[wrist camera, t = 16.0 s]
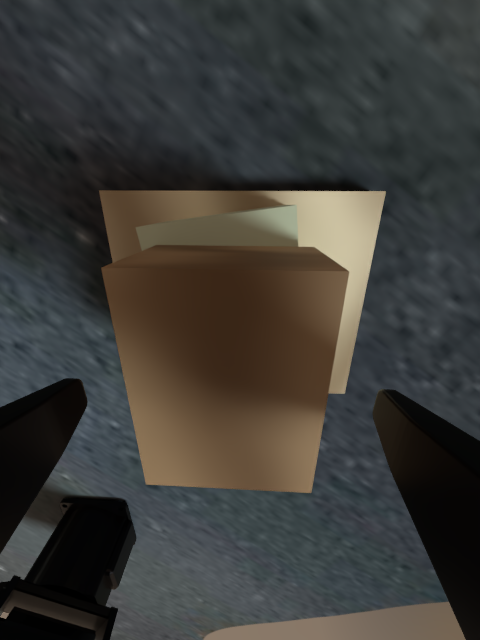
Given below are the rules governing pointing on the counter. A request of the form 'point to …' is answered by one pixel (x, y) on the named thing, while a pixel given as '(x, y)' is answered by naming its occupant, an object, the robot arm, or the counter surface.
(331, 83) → the counter surface
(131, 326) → the walnut block
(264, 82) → the counter surface
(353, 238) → the birch board
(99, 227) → the counter surface
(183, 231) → the green block
